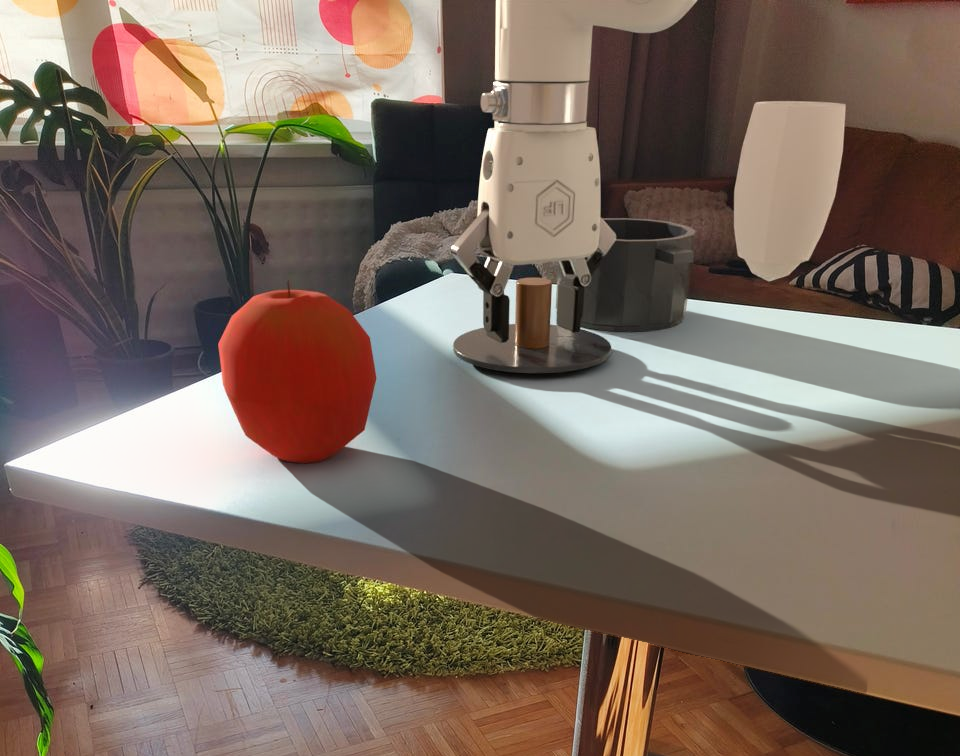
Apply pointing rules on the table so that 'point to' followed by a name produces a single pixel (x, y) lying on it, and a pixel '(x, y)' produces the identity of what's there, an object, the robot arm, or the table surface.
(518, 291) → the lid
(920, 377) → the table surface
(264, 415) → the apple
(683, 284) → the pot
